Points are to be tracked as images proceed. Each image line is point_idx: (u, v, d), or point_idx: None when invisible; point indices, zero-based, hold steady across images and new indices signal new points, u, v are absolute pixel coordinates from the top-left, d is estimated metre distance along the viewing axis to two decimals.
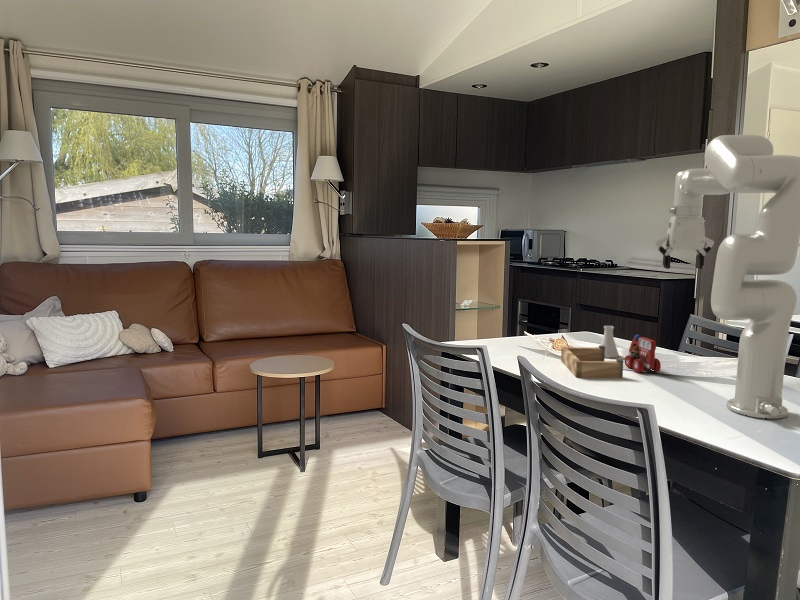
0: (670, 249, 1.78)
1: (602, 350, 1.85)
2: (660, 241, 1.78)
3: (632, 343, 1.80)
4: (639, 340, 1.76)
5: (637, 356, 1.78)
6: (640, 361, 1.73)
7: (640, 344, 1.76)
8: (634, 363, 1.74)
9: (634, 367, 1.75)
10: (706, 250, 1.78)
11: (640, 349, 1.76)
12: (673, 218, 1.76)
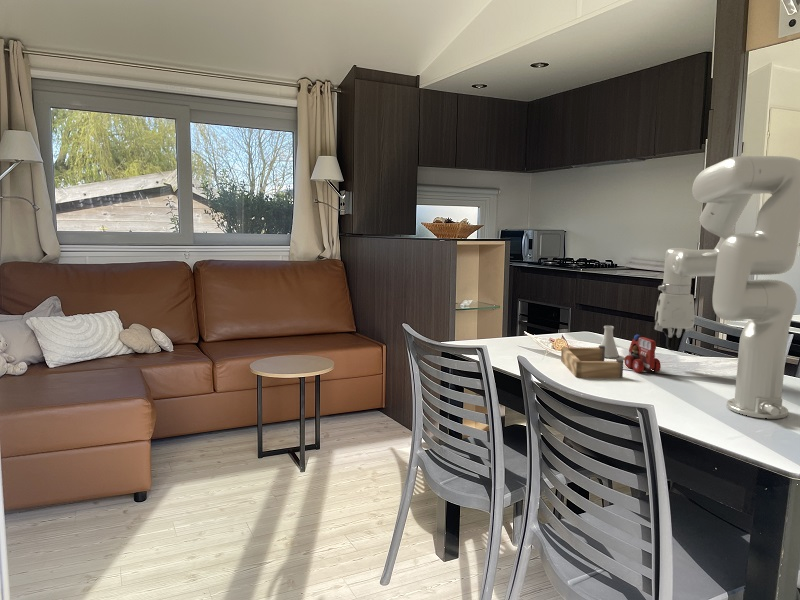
0: (669, 330, 1.74)
1: (602, 350, 1.85)
2: (658, 326, 1.75)
3: (632, 343, 1.80)
4: (639, 340, 1.76)
5: (637, 356, 1.78)
6: (640, 361, 1.73)
7: (640, 344, 1.76)
8: (634, 363, 1.74)
9: (634, 367, 1.75)
10: None
11: (640, 349, 1.76)
12: (662, 296, 1.73)
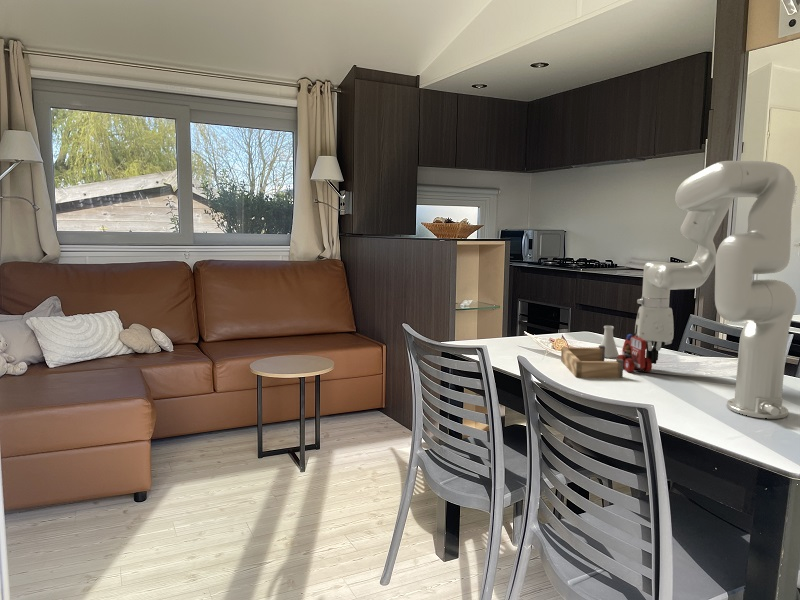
0: (649, 343, 1.75)
1: (602, 350, 1.85)
2: None
3: (625, 343, 1.81)
4: (631, 340, 1.77)
5: (629, 355, 1.78)
6: (631, 360, 1.73)
7: (632, 344, 1.76)
8: (626, 363, 1.75)
9: (625, 367, 1.75)
10: None
11: (632, 349, 1.76)
12: (641, 309, 1.73)
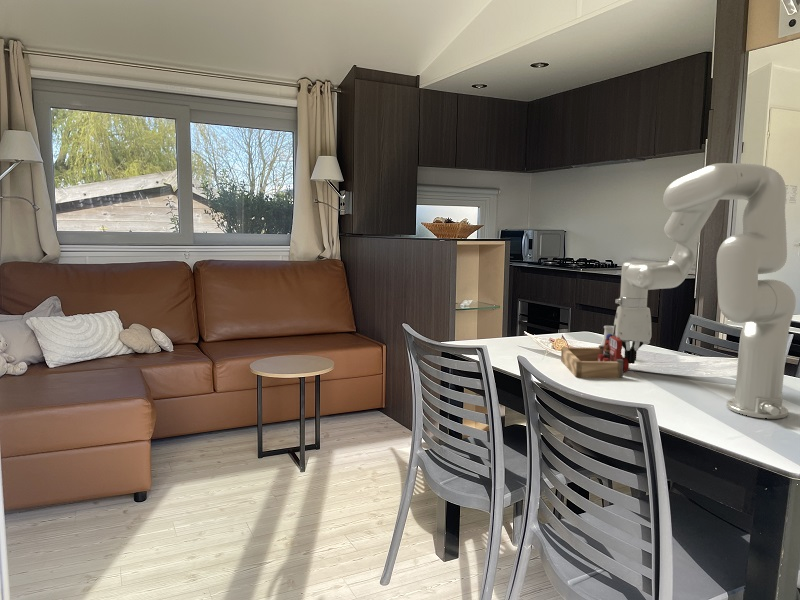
0: (627, 343, 1.75)
1: (602, 350, 1.85)
2: None
3: (605, 342, 1.81)
4: (609, 339, 1.77)
5: (608, 355, 1.78)
6: (607, 360, 1.74)
7: (610, 344, 1.77)
8: None
9: None
10: None
11: (610, 348, 1.77)
12: (619, 309, 1.74)
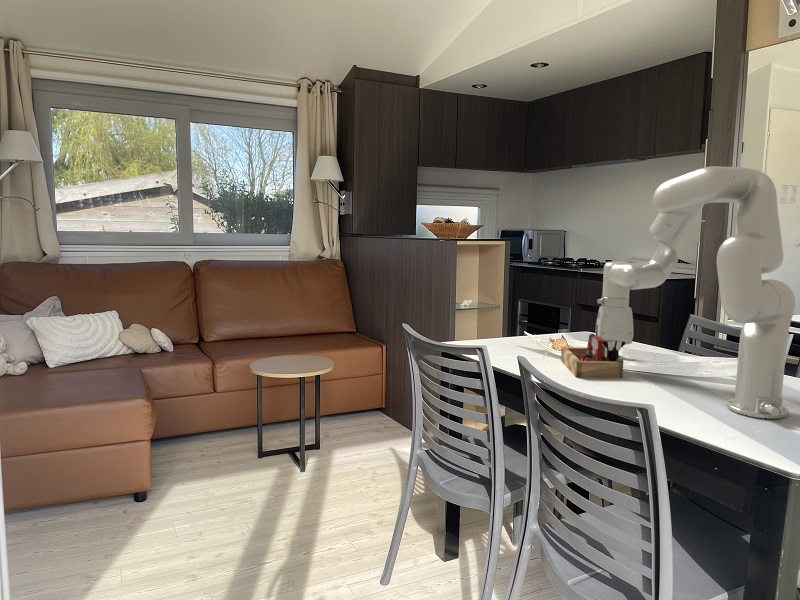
0: (609, 343, 1.75)
1: (602, 350, 1.85)
2: None
3: (588, 342, 1.81)
4: (592, 339, 1.77)
5: (590, 355, 1.79)
6: (588, 360, 1.74)
7: (592, 344, 1.77)
8: None
9: None
10: None
11: (592, 348, 1.77)
12: (601, 309, 1.74)
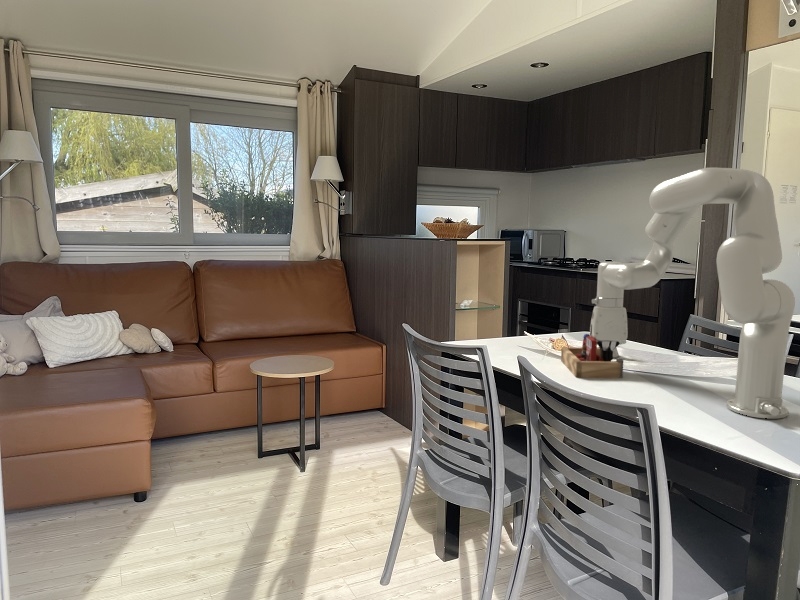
0: (603, 343, 1.75)
1: None
2: None
3: (583, 342, 1.82)
4: (586, 339, 1.78)
5: (585, 355, 1.79)
6: (582, 360, 1.74)
7: (587, 344, 1.77)
8: None
9: None
10: (615, 345, 1.76)
11: (586, 348, 1.77)
12: (595, 309, 1.74)
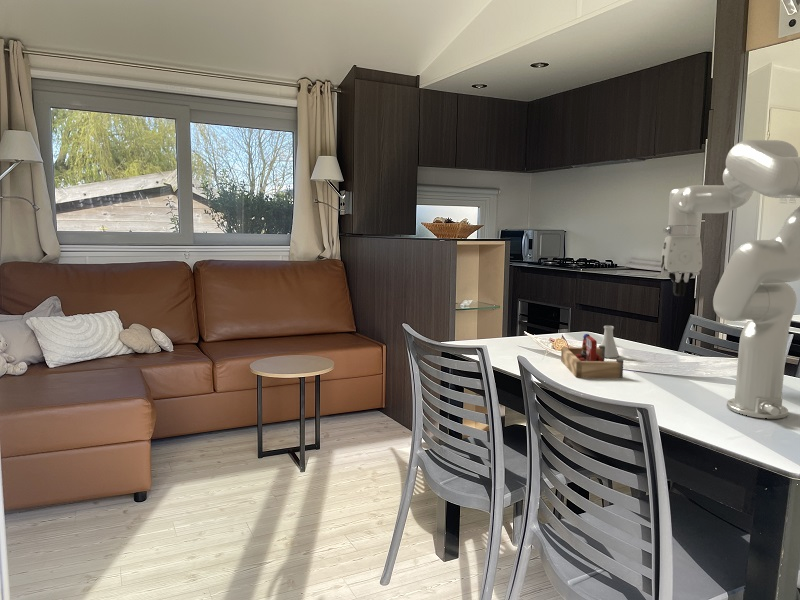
0: (676, 274, 1.67)
1: (602, 350, 1.85)
2: (665, 271, 1.67)
3: (583, 342, 1.82)
4: (586, 339, 1.78)
5: (585, 355, 1.79)
6: (582, 360, 1.74)
7: (587, 344, 1.77)
8: None
9: None
10: None
11: (586, 348, 1.77)
12: (668, 238, 1.65)
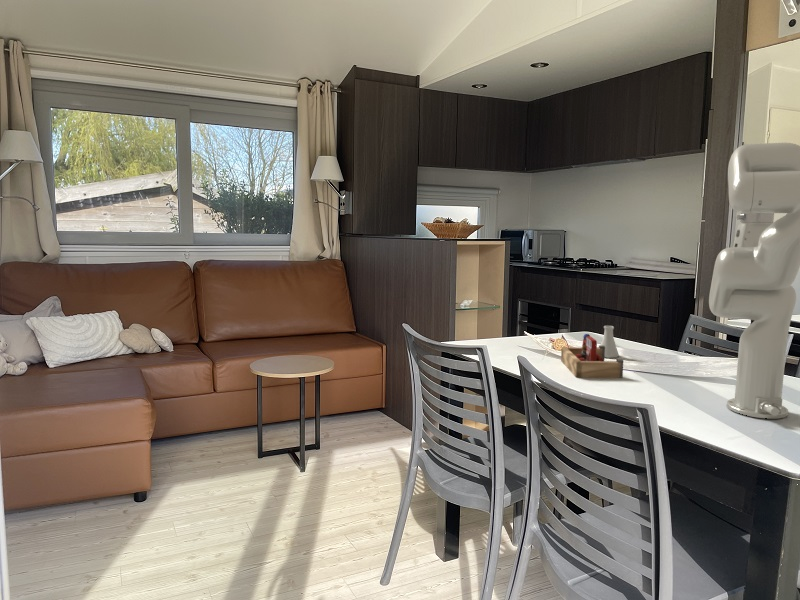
0: None
1: (602, 350, 1.85)
2: None
3: (583, 342, 1.82)
4: (586, 339, 1.78)
5: (585, 355, 1.79)
6: (582, 360, 1.74)
7: (587, 344, 1.77)
8: None
9: None
10: None
11: (586, 348, 1.77)
12: (742, 225, 1.57)
